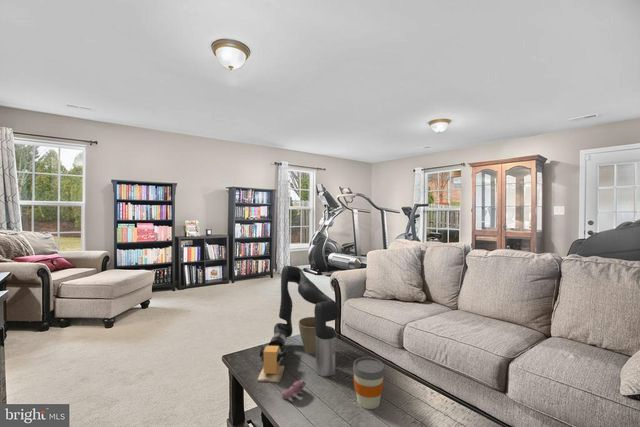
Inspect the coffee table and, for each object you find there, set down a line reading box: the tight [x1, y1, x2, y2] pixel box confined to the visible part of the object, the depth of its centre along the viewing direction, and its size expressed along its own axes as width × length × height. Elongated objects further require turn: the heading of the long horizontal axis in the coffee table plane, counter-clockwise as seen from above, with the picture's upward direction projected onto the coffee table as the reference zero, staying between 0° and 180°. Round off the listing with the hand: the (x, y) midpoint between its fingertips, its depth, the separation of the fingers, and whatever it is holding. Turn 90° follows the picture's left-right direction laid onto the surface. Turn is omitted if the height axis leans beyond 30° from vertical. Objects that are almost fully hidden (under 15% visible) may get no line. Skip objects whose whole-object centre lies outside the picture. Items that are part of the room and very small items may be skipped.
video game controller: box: [281, 379, 307, 400], centre depth 125 cm, size 10×5×7 cm, turn 144°
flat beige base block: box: [257, 365, 285, 383], centre depth 140 cm, size 10×12×6 cm
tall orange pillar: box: [263, 345, 280, 374], centre depth 140 cm, size 6×6×10 cm
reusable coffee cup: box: [352, 356, 386, 410], centre depth 121 cm, size 13×13×15 cm
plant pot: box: [297, 316, 316, 355], centre depth 163 cm, size 15×15×16 cm
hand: (270, 359), depth 138 cm, fingers closed on tall orange pillar, 6 cm apart
